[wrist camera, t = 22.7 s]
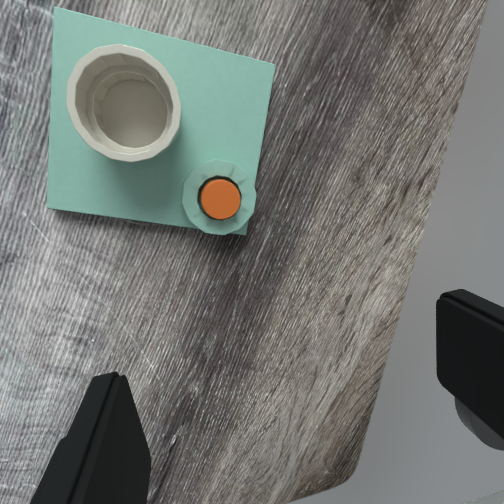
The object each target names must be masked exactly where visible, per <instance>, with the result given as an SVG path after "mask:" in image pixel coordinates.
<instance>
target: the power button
mask: <svg viewBox="0 0 504 504" xmlns="http://www.w3.org/2000/svg"><path fill="white" fill-rule="evenodd" d="M201 203H202V206H203V208H204V210H205V212H206V213H207V214H208V215H209V216H211V217H213V218H215V219H227V218H229V217H231V216H233V215H234V214H235V213H236V212H237V210H238V208H239V206H240V194H239V191H238V189H237V188H236V187H235V186H234V185H233V184H232V183H230V182H228V181H226V180H222V179H216V180H212V181H210V182H209V183H207V184H206V185H205V186H204V188H203V190H202V192H201Z"/></svg>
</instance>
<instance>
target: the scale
mask: <svg viewBox="0 0 504 504" xmlns="http://www.w3.org/2000/svg"><path fill="white" fill-rule="evenodd" d="M113 44H123V45H127V46H131V47H135V48H139V49H142V50H144V51H145V52H147V53H148V54H149V55H151V56H152V57H154V58H155V59H156V60H158V61H159V62H161V63H162V64H163V66H164V67H165V69H166V70H167V71H168V73H169V74H170V76H171V77H172V79H173V80H174V82H175V84H176V86H177V90H178V94H179V98H180V102H181V107H182V117H181V126H180V133H179V135H178V137H177V139H176V141H175V142H174V144H173V146H172V148H170V149H169V150H168V151H167V152H165V153H164V154H163V155H161V156H160V157H159V158H157V159H152V160H148V161H143V162H125V161H119V160H114V159H110V158H108V157H106V156H104V155H103V154H101V153H99V152H97V151H96V150H94V149H92V148H91V147H90V146H88V144H87V143H86V142H85V141H84V140H83V138H82V137H81V136H80V135H79V133H78V132H77V131H76V130H75V128H74V126H73V124H72V121H71V118H70V115H69V112H68V109H67V107H66V94H67V82H68V79H69V77H70V75H71V73H72V71H73V69H74V67H75V65H76V63H77V62H78V60H80V59H81V58H82V57H84V56H85V55H86V54H88V53H89V52H91V51H92V50H93V49H95V48H97V47H102V46H108V45H113ZM275 66H276V65H275V64H272V63H268V62H264V61H261V60H257V59H253V58H249V57H245V56H242V55H238V54H234V53H230V52H226V51H223V50H219V49H215V48H211V47H207V46H204V45H200V44H196V43H192V42H188V41H185V40H181V39H177V38H173V37H169V36H166V35H162V34H158V33H154V32H150V31H146V30H143V29H139V28H135V27H131V26H127V25H124V24H120V23H116V22H112V21H108V20H105V19H101V18H97V17H93V16H89V15H86V14H82V13H78V12H74V11H70V10H67V9H63V8H59V7H54V22H53V49H52V76H51V103H50V131H49V158H48V185H47V208H48V209H56V210H63V211H71V212H78V213H85V214H93V215H100V216H107V217H115V218H122V219H129V220H137V221H144V222H152V223H159V224H166V225H174V226H181V227H188V228H196V229H200V230H202V231H203V232H205V233H209V234H217V235H226V234H228V233H233V234H240V235H246V232H247V226H248V221H249V218H250V217H251V216H252V214H253V213H254V207H255V202H256V196H257V195H256V191H255V188H254V186H255V181H256V175H257V169H258V164H259V158H260V152H261V146H262V141H263V135H264V129H265V124H266V118H267V112H268V106H269V101H270V95H271V89H272V84H273V78H274V72H275ZM216 179H222V180H226V181H228V182H230V183H232V184H233V185H234V186H235V187H236V188H237V189H238V191H239V194H240V206H239V208H238V210H237V212H236V213H235V214H234V215H233V216H231V217H229V218H227V219H215V218H213V217H211V216H209V215H208V214H207V213H206V212H205V210H204V208H203V206H202V203H201V192H202V190H203V188H204V186H205V185H206V184H207V183H209V182H210V181H212V180H216Z"/></svg>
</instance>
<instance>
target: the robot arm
mask: <svg viewBox="0 0 504 504" xmlns="http://www.w3.org/2000/svg"><path fill="white" fill-rule="evenodd" d="M436 349H437V350H436V351H437V352H436V354H437V356H436V357H437V377H438V380H439V382H440V383H441V384H442V386H443V387H444V388H446V389H447V390H448V391H449V392H450V393H451V394H452V395H453V396H455V397H456V398H457V399H458V400H459V401H460V402H461V403H463V404H464V405H465V406H466V407H467V408H468V409H469V410H470V411H472V412H473V413H474V414H475V415H476V416H477V417H478V418H480V419H481V420H482V421H483V422H484V423H485V424H486V425H488V426H489V427H490V428H491V429H492V430H493V431H494V432H496V433H497V434H498V435H499V436H500V437H501V438H502V439H503V440H504V307H501V306H499V305H497V304H495V303H493V302H490V301H488V300H486V299H484V298H482V297H479V296H477V295H475V294H473V293H471V292H469V291H466V290H464V289H458V290H454V291H450V292H445V293H443V294H442V295H441V296H440V299H438V300H437V302H436ZM150 471H151V456H150V451H149V448H148V445H147V442H146V438H145V435H144V432H143V429H142V425H141V422H140V419H139V416H138V412H137V409H136V406H135V403H134V400H133V396H132V393H131V390H130V387H129V383H128V380H127V378H126V376H125V375H122V376H119V374H118V373H117V372H116V371H115V372H111V373H107V374H103V375H99V376H95V377H93V379H92V381H91V383H90V385H89V387H88V389H87V392H86V394H85V396H84V398H83V400H82V403H81V405H80V407H79V409H78V412H77V414H76V416H75V418H74V420H73V423H72V425H71V427H70V429H69V432H68V434H67V436H66V437H64V438H63V439H61V440H60V442H59V444H58V445H57V447H56V449H55V451H54V454H53V456H52V458H51V460H50V462H49V464H48V466H47V469H46V471H45V473H44V475H43V477H42V479H41V481H40V484H39V486H38V488H37V490H36V492H35V494H34V496H33V498H32V501H31V503H30V504H146V503H147V495H148V487H149V479H150ZM463 504H504V490H503V491H500V492H497V493H494V494H491V495H488V496H485V497H482V498H479V499H476V500H473V501H470V502H466V503H463Z"/></svg>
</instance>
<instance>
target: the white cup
mask: <svg viewBox="0 0 504 504" xmlns="http://www.w3.org/2000/svg"><path fill="white" fill-rule="evenodd" d="M66 107H67V109H68V112H69V115H70V118H71V121H72V124H73V126H74V128H75V130H76V131H77V132H78V133H79V135H80V136H81V137H82V138H83V140H84V141H85V142H86V143H87V144H88V146H90V147H91V148H92V149H94V150H96V151H97V152H99V153H101V154H103V155H104V156H106V157H108V158H110V159H114V160H119V161H125V162H143V161H148V160H152V159H157V158H159V157H160V156H161V155H163V154H164V153H165V152H167V151H168V150H169V149H170V148H172V146H173V144H174V142H175V141H176V139H177V137H178V135H179V133H180V126H181V117H182V107H181V102H180V98H179V94H178V90H177V86H176V84H175V82H174V80H173V79H172V77H171V76H170V74H169V73H168V71H167V70H166V69H165V67H164V66H163V64H162V63H161V62H159V61H158V60H156V59H155V58H154V57H152V56H151V55H149V54H148V53H147V52H145V51H144V50H142V49H139V48H135V47H131V46H127V45H123V44H113V45H108V46H102V47H97V48H95V49H93V50H92V51H91V52H89V53H88V54H86V55H85V56H84V57H82V58H81V59H80V60H78V62H77V63H76V65H75V67H74V69H73V71H72V73H71V75H70V77H69V79H68V82H67V94H66Z"/></svg>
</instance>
